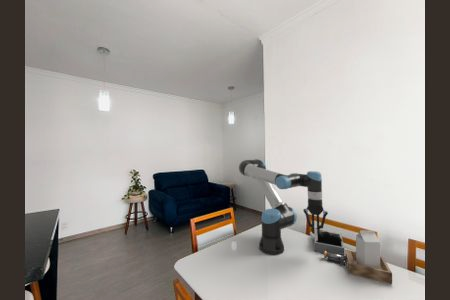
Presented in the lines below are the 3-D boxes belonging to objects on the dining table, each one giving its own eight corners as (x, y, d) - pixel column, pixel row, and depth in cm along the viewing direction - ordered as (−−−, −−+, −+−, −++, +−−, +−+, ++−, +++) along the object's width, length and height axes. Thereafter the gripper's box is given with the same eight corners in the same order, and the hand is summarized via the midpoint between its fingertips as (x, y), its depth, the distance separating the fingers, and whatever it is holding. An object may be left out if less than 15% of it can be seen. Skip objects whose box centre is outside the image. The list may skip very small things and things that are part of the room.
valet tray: (314, 250, 114) (314, 242, 114) (315, 236, 132) (315, 229, 132) (344, 256, 107) (344, 248, 107) (341, 241, 125) (340, 233, 125)
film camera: (339, 243, 122) (339, 229, 122) (342, 251, 113) (343, 236, 113) (313, 239, 127) (313, 226, 127) (315, 246, 118) (315, 232, 118)
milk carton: (380, 273, 91) (379, 234, 91) (365, 272, 92) (364, 233, 92) (370, 264, 98) (369, 228, 98) (356, 263, 99) (355, 227, 99)
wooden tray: (349, 273, 92) (348, 263, 92) (345, 258, 106) (345, 249, 106) (392, 284, 85) (392, 273, 85) (382, 265, 98) (382, 256, 98)
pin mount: (327, 262, 102) (327, 255, 102) (327, 256, 108) (327, 250, 108) (345, 265, 99) (344, 259, 99) (343, 260, 104) (343, 253, 104)
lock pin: (324, 258, 104) (324, 252, 104) (324, 255, 107) (324, 249, 107) (345, 263, 99) (345, 256, 100) (345, 260, 103) (344, 253, 103)
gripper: (302, 198, 108) (303, 240, 107) (328, 201, 102) (329, 244, 101) (303, 196, 114) (304, 234, 114) (327, 197, 108) (328, 238, 108)
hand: (316, 239), depth 107 cm, fingers closed
